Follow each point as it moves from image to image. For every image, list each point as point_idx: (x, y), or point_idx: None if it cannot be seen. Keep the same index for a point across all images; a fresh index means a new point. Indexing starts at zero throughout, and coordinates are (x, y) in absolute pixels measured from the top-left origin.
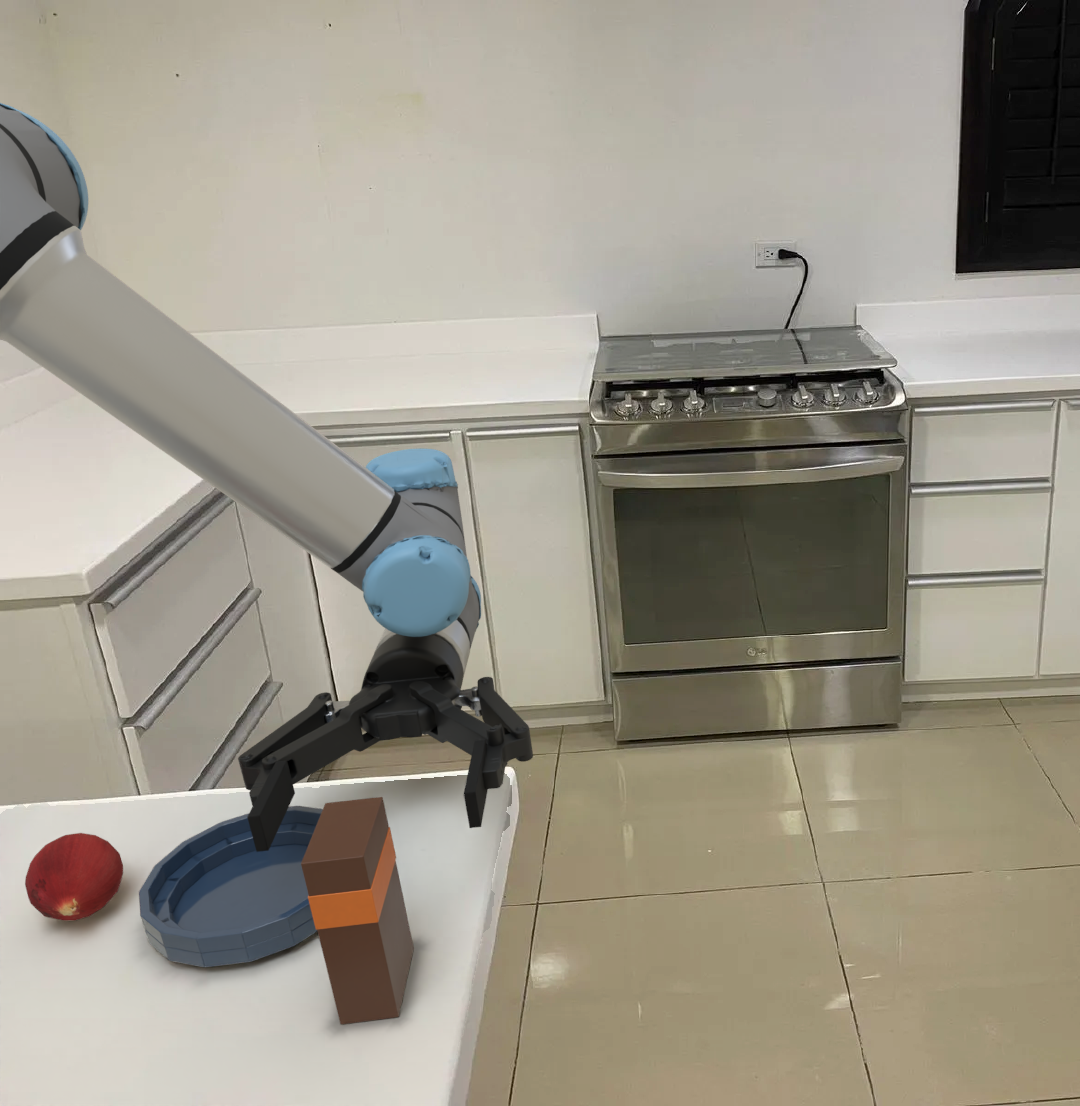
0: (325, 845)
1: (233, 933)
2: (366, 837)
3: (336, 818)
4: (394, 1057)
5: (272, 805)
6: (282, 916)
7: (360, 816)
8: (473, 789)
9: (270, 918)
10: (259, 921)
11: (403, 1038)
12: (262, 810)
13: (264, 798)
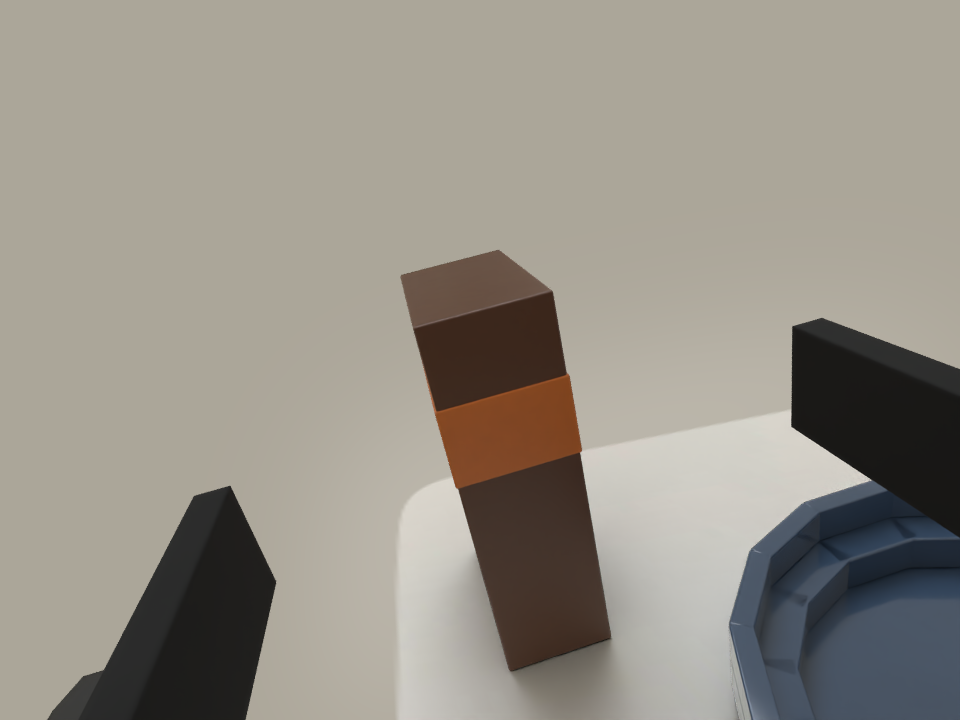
0: (477, 265)
1: (819, 498)
2: (408, 285)
3: (492, 283)
4: (459, 506)
5: (874, 399)
6: (763, 547)
7: (442, 296)
8: (197, 505)
9: (785, 539)
10: (925, 653)
11: (457, 526)
12: (813, 337)
13: (875, 354)
